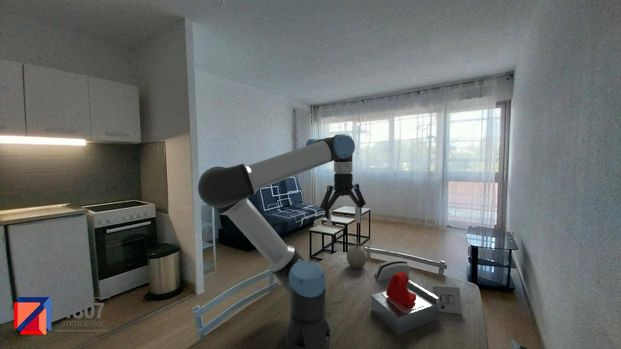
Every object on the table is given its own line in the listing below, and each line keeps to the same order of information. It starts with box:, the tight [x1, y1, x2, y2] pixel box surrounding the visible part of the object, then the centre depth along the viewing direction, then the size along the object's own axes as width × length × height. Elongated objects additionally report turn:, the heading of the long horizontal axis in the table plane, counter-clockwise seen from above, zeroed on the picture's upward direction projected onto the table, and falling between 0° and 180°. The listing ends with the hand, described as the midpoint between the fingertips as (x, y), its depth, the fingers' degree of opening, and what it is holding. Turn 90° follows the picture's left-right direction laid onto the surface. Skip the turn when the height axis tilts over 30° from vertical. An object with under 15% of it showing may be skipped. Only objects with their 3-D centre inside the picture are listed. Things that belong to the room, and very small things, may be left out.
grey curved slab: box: [374, 259, 411, 282], centre depth 114 cm, size 17×5×10 cm, turn 104°
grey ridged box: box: [370, 279, 440, 336], centre depth 86 cm, size 19×14×8 cm
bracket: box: [385, 272, 416, 306], centre depth 85 cm, size 9×6×10 cm
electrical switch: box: [432, 284, 463, 315], centre depth 89 cm, size 9×5×9 cm, turn 78°
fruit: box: [346, 236, 369, 270], centre depth 124 cm, size 10×12×15 cm
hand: (343, 224), depth 95 cm, fingers open, 13 cm apart
